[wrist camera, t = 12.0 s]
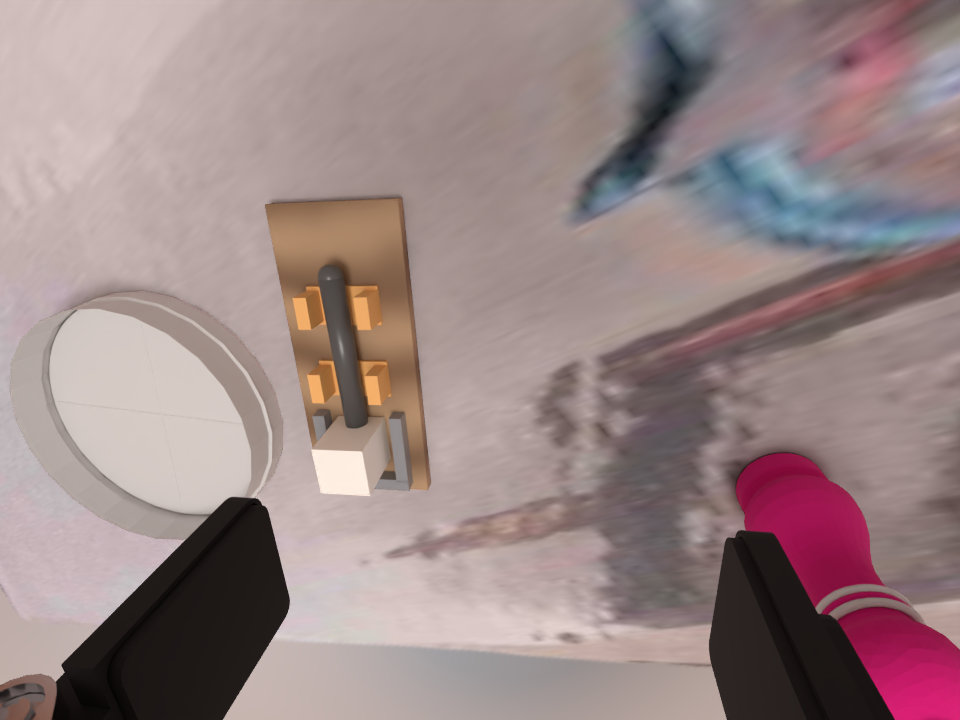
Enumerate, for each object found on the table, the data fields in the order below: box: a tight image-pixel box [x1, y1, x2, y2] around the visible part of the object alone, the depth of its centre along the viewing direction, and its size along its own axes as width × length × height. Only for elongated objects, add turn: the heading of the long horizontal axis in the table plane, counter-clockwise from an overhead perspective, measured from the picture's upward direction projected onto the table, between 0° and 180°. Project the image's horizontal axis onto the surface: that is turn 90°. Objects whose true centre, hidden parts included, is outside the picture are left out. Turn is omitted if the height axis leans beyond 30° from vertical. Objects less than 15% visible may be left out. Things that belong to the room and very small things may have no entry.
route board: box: [265, 198, 431, 490], centre depth 41 cm, size 24×10×1 cm, turn 3°
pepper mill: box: [736, 453, 960, 720], centre depth 30 cm, size 7×7×20 cm
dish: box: [10, 291, 283, 540], centre depth 44 cm, size 22×22×5 cm
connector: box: [311, 264, 391, 496], centre depth 38 cm, size 17×4×5 cm, turn 3°
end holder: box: [312, 409, 413, 491], centre depth 42 cm, size 7×8×1 cm
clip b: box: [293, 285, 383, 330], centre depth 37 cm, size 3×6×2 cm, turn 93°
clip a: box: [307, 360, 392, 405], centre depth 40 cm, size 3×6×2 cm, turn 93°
